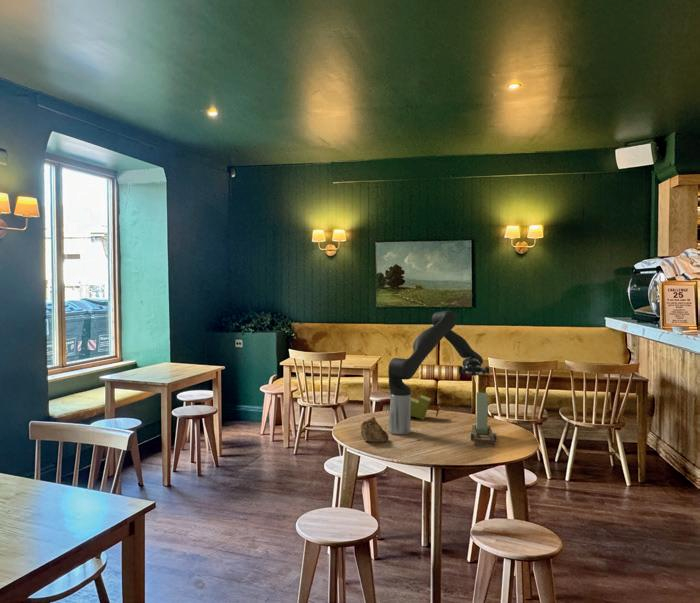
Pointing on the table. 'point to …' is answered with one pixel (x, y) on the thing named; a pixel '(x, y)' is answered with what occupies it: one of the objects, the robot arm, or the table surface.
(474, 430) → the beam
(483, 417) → the block
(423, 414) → the toy
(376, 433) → the decorative rock
